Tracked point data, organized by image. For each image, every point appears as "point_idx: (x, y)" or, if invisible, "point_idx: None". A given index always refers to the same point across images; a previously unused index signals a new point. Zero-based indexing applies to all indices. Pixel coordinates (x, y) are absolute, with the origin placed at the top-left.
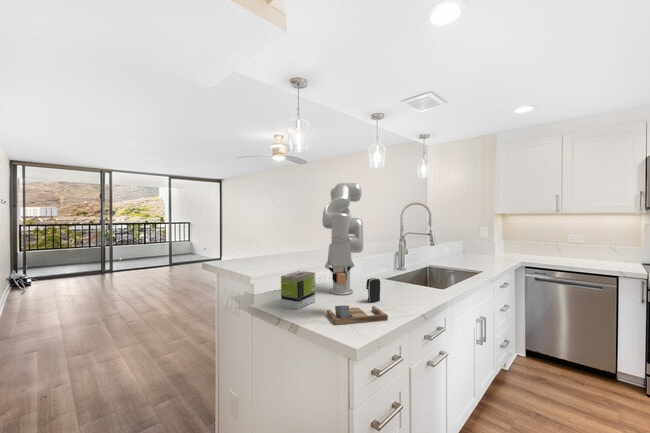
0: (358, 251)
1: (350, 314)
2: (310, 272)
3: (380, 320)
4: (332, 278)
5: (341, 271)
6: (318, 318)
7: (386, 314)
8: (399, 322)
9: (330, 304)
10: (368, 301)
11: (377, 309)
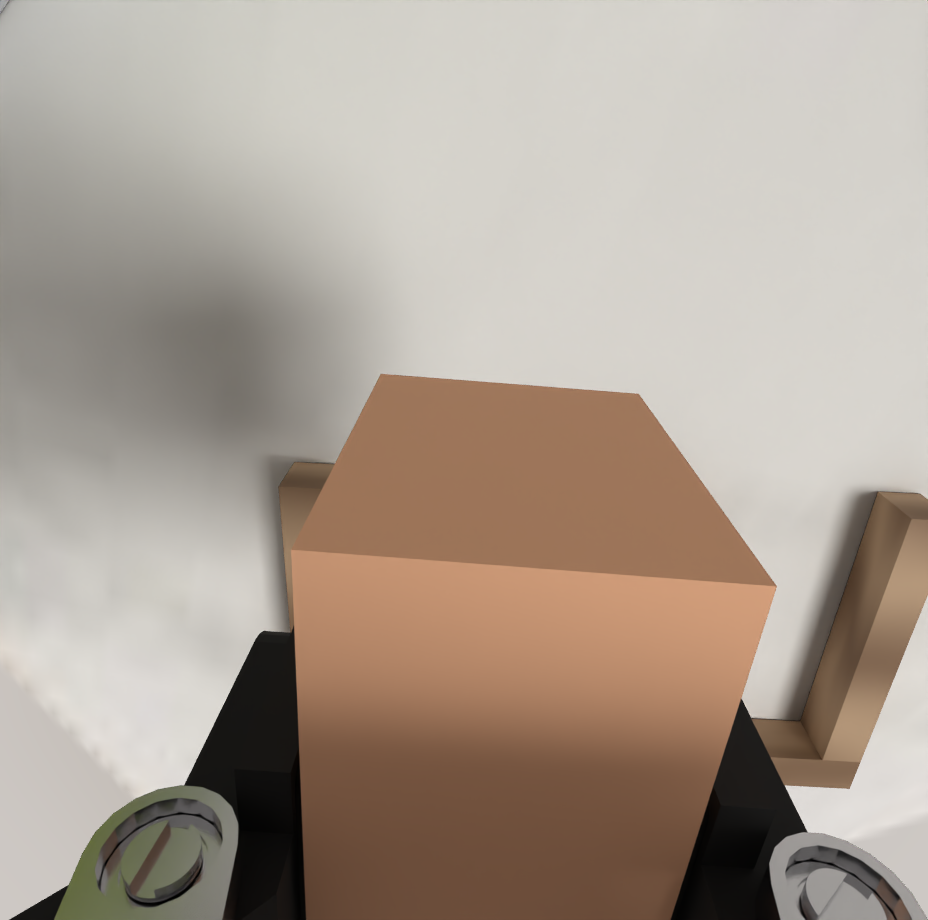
0: None
1: None
2: None
3: None
4: (252, 651)
5: (712, 740)
6: (181, 541)
7: (855, 770)
8: (879, 808)
9: (465, 13)
10: None
11: (886, 632)
